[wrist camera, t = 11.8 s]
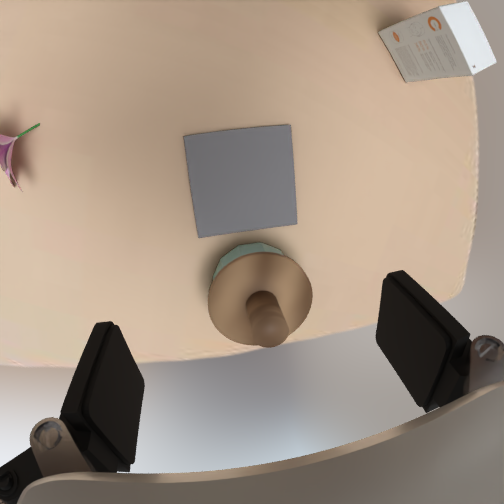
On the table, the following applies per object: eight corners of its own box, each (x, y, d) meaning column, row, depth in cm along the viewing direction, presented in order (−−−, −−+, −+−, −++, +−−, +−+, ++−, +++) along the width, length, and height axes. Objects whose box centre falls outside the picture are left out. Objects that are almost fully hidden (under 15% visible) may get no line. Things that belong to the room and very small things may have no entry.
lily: (3, 97, 26) (-51, 129, 19) (50, 74, 23) (-18, 106, 16) (25, 171, 34) (-20, 209, 27) (74, 166, 31) (20, 212, 24)
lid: (309, 244, 33) (331, 269, 27) (309, 330, 38) (326, 363, 32) (199, 260, 32) (199, 290, 26) (216, 346, 37) (220, 383, 31)
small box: (432, 69, 32) (498, 63, 20) (404, 83, 32) (473, 77, 20) (406, 21, 28) (468, -1, 17) (376, 31, 29) (438, 6, 17)
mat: (289, 124, 33) (290, 124, 32) (296, 222, 38) (297, 224, 37) (184, 136, 32) (183, 136, 31) (198, 236, 36) (198, 237, 36)
